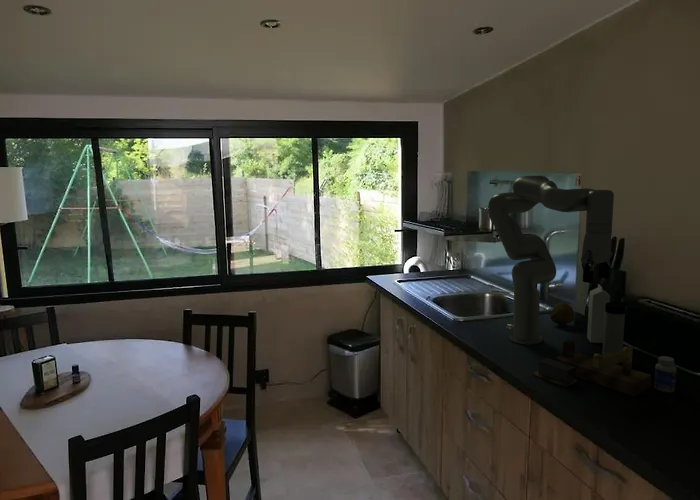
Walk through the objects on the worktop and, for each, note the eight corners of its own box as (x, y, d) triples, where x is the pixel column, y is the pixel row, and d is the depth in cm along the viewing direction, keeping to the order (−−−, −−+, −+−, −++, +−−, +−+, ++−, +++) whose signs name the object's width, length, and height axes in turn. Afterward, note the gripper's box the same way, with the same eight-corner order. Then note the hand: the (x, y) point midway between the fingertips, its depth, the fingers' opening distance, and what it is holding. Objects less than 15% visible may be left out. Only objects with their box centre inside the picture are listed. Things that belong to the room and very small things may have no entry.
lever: (625, 371, 151) (627, 344, 150) (632, 374, 149) (634, 347, 148) (590, 381, 145) (592, 354, 144) (597, 384, 143) (599, 356, 142)
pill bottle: (675, 394, 144) (677, 363, 143) (653, 390, 147) (656, 360, 146) (674, 387, 149) (677, 357, 147) (653, 383, 152) (656, 353, 150)
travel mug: (625, 360, 169) (629, 305, 166) (605, 360, 171) (608, 304, 168) (619, 354, 176) (623, 300, 172) (600, 353, 177) (603, 299, 174)
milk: (590, 342, 188) (593, 287, 184) (587, 337, 193) (589, 283, 190) (607, 343, 186) (610, 287, 182) (603, 338, 192) (606, 283, 188)
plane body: (553, 369, 165) (554, 343, 163) (570, 361, 170) (571, 337, 169) (634, 396, 144) (636, 367, 142) (650, 387, 149) (652, 359, 148)
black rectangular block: (538, 374, 160) (538, 361, 159) (546, 370, 162) (546, 357, 161) (566, 384, 152) (567, 370, 151) (574, 380, 154) (575, 367, 153)
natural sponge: (579, 327, 205) (580, 304, 203) (563, 330, 202) (564, 307, 200) (562, 321, 213) (563, 299, 212) (546, 324, 210) (547, 302, 208)
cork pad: (531, 374, 161) (531, 372, 161) (542, 369, 164) (542, 368, 164) (565, 387, 151) (565, 385, 151) (576, 381, 155) (576, 380, 154)
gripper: (601, 225, 165) (598, 274, 168) (572, 230, 156) (570, 282, 158) (624, 226, 159) (620, 278, 162) (595, 232, 149) (592, 286, 152)
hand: (595, 280), depth 160 cm, fingers open, 9 cm apart
